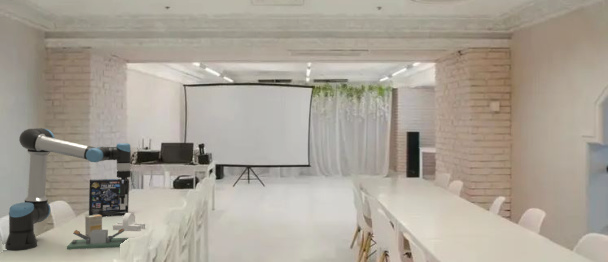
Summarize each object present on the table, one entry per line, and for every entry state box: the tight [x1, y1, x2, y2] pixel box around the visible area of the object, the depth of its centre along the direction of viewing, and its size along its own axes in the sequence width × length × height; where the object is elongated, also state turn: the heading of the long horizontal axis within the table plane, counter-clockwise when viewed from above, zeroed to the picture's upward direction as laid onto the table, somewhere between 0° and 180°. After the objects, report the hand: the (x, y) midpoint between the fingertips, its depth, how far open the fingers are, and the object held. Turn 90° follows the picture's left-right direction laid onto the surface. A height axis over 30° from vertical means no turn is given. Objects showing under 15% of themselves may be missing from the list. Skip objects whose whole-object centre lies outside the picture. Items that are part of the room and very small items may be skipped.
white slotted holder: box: [112, 212, 146, 232], centre depth 319 cm, size 10×18×11 cm, turn 82°
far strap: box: [108, 229, 125, 239], centre depth 280 cm, size 10×5×2 cm, turn 103°
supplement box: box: [84, 214, 103, 237], centre depth 295 cm, size 8×5×13 cm, turn 141°
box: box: [88, 178, 130, 218], centre depth 363 cm, size 27×7×27 cm, turn 115°
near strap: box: [73, 229, 90, 240], centre depth 276 cm, size 10×5×2 cm
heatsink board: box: [66, 229, 129, 250], centre depth 278 cm, size 30×16×8 cm, turn 104°
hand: (123, 207), depth 284 cm, fingers open, 13 cm apart
